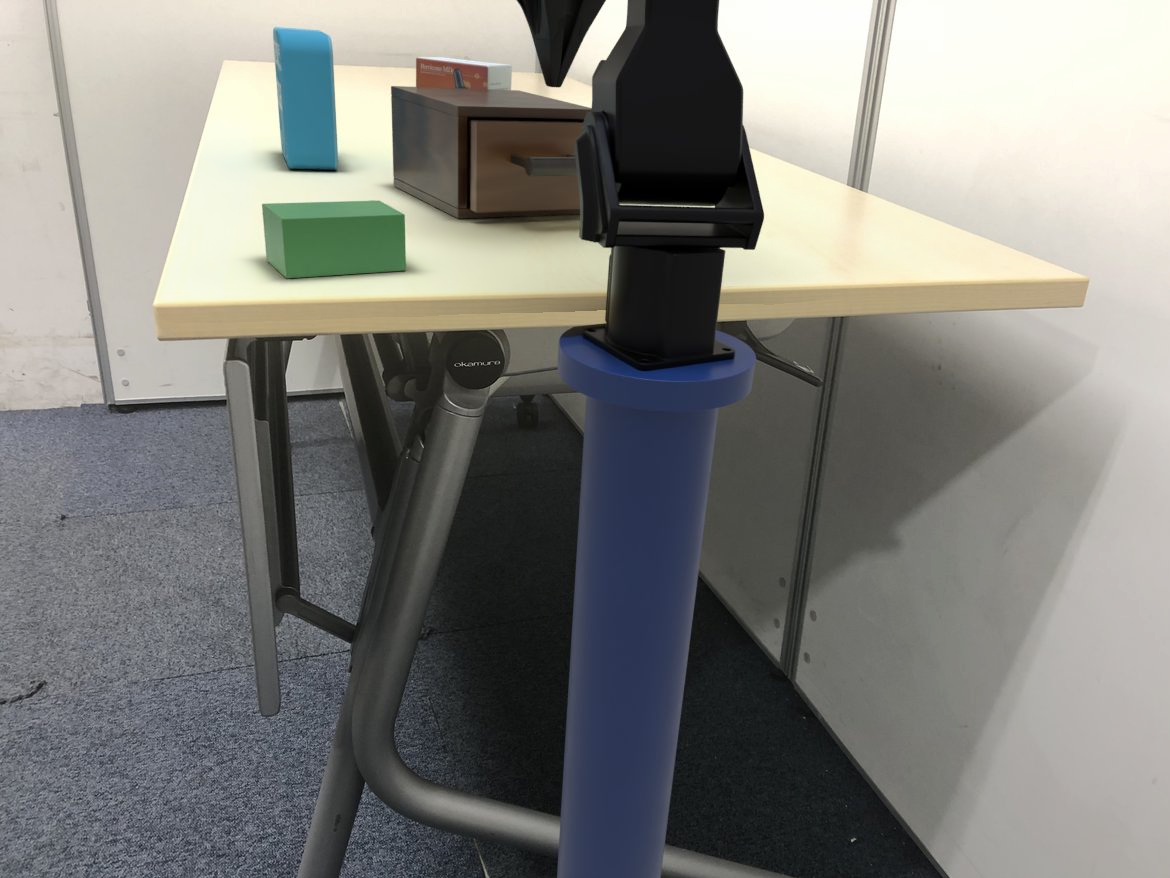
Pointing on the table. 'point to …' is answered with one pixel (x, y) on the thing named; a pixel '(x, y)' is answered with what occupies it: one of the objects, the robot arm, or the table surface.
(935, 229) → the table surface
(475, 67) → the small box
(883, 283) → the table surface
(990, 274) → the table surface
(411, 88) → the cabinet
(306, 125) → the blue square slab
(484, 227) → the table surface
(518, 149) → the drawer
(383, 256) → the green block
